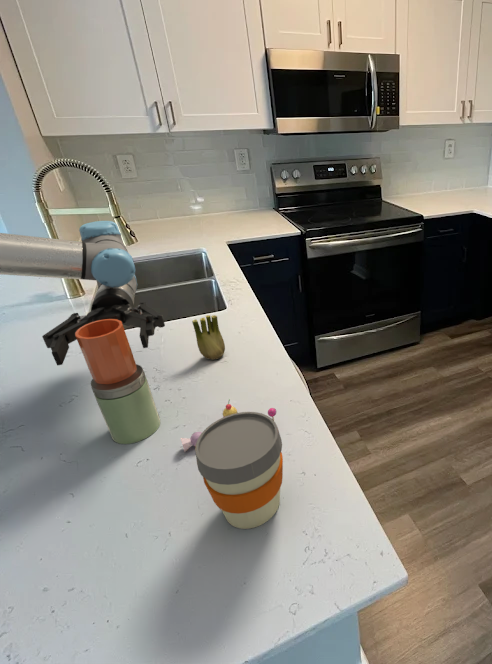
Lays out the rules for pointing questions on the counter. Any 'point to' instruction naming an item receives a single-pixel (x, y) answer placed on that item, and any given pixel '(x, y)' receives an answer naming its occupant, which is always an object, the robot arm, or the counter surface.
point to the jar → (130, 415)
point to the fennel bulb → (209, 338)
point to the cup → (106, 351)
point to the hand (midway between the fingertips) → (101, 350)
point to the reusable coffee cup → (242, 467)
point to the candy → (227, 411)
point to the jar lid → (120, 386)
